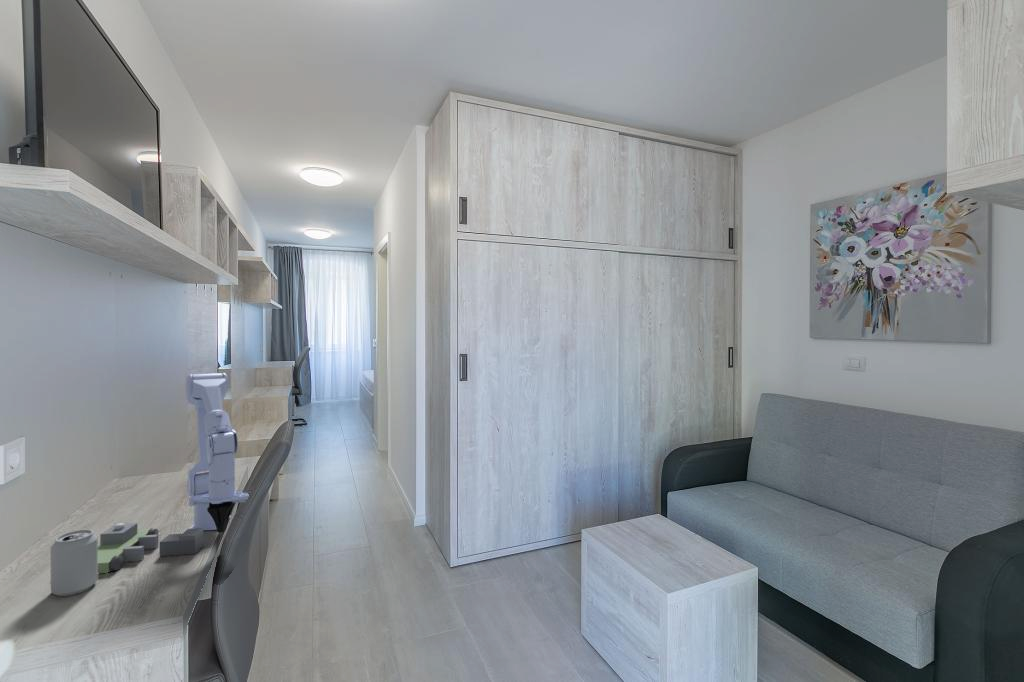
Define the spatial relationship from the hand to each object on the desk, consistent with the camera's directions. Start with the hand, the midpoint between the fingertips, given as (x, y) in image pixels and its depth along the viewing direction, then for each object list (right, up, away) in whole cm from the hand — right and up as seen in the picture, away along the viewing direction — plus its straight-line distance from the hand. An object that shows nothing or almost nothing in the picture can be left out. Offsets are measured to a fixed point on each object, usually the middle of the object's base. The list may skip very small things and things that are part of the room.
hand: (221, 530), depth 121 cm
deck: (-23, -4, -4) cm, 24 cm away
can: (-20, -5, -19) cm, 28 cm away
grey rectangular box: (-9, -4, -2) cm, 10 cm away
